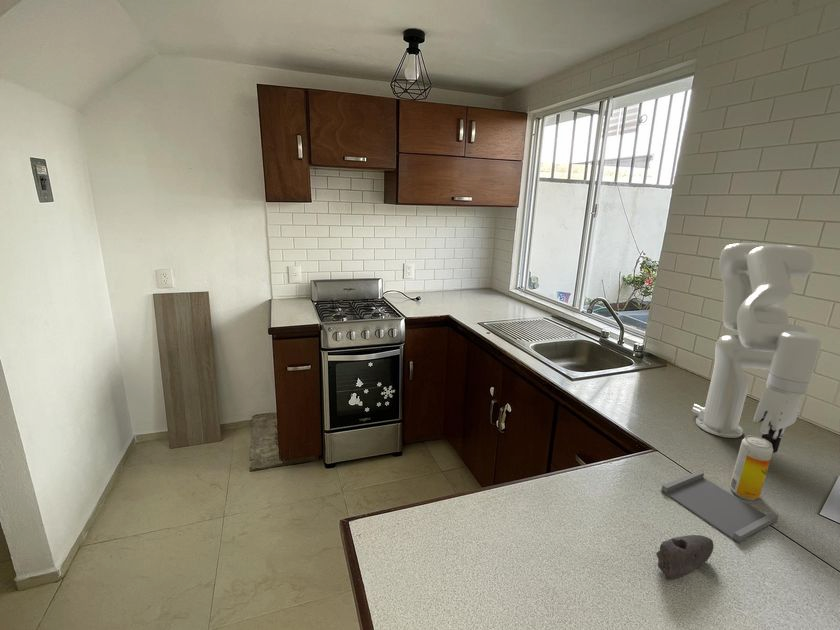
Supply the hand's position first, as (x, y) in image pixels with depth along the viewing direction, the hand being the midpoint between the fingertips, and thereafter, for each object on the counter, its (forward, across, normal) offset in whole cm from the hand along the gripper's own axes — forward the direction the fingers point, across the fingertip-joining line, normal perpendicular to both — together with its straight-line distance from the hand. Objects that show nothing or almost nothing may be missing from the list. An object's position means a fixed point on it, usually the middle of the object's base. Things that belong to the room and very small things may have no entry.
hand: (767, 449), depth 105 cm
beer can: (+12, +5, 0) cm, 13 cm away
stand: (+11, +17, 0) cm, 20 cm away
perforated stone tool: (+12, +41, +8) cm, 44 cm away
